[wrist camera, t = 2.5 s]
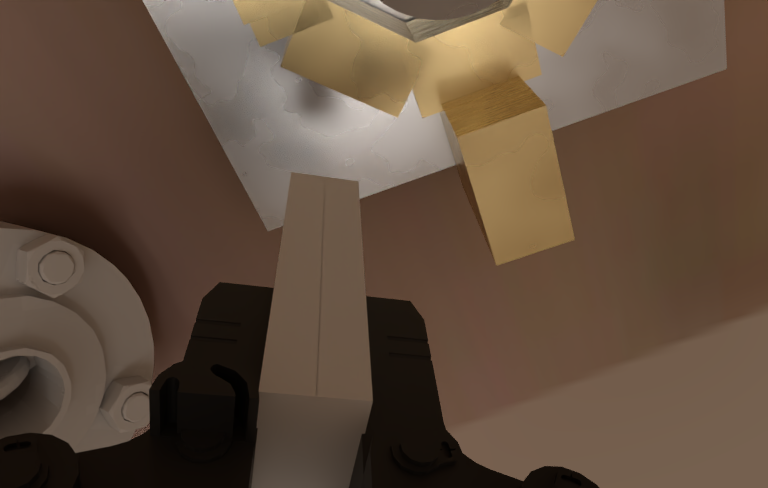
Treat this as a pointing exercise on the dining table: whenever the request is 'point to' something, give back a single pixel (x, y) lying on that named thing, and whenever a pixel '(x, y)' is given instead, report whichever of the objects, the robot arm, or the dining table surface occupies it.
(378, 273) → the dining table surface
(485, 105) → the ring nut
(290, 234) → the robot arm
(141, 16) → the dining table surface
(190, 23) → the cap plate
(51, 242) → the mechanical valve
